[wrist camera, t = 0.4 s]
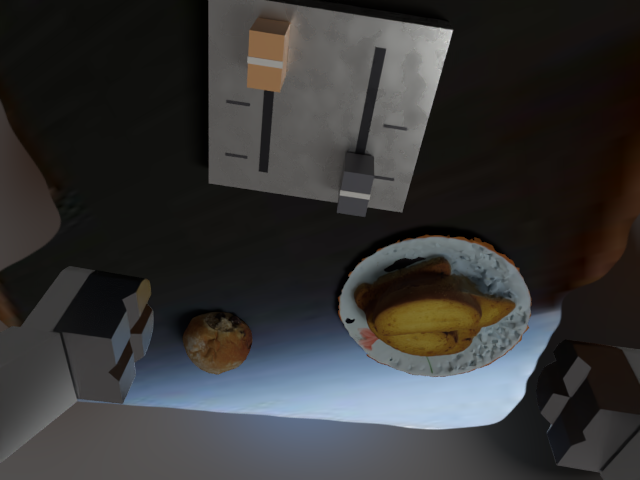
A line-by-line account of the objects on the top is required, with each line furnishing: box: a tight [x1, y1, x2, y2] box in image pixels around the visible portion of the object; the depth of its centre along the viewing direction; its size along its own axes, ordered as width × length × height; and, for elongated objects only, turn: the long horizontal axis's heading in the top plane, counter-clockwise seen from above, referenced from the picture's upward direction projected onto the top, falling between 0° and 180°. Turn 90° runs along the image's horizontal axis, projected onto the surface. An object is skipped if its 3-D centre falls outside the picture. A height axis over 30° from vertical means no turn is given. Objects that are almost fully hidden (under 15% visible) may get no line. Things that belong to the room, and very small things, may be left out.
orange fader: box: [247, 18, 290, 92], centre depth 46 cm, size 5×3×4 cm, turn 173°
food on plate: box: [338, 235, 531, 377], centre depth 68 cm, size 25×25×7 cm
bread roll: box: [183, 312, 252, 374], centre depth 76 cm, size 10×10×8 cm
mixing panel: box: [208, 0, 453, 212], centre depth 53 cm, size 20×22×3 cm
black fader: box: [337, 152, 374, 217], centre depth 54 cm, size 5×3×4 cm, turn 173°
